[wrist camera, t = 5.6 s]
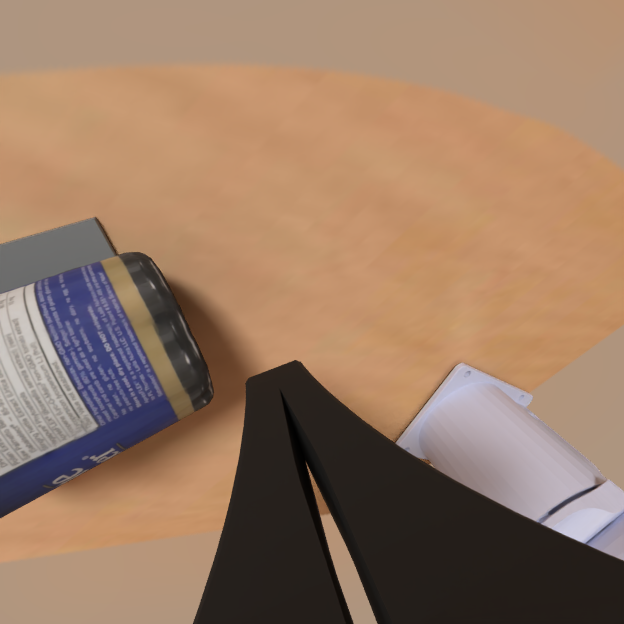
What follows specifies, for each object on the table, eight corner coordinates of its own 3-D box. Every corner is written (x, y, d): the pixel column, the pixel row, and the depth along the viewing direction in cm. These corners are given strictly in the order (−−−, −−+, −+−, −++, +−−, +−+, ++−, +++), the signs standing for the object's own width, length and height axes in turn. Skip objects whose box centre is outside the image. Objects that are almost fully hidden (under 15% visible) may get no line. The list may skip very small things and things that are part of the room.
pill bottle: (202, 384, 16) (-110, 546, 12) (143, 260, 15) (-222, 385, 11) (235, 416, 11) (-330, 745, 6) (145, 225, 10) (-601, 451, 5)
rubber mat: (95, 216, 13) (94, 218, 13) (181, 373, 17) (182, 377, 17) (-256, 317, 11) (-265, 322, 11) (-65, 465, 16) (-68, 470, 15)
